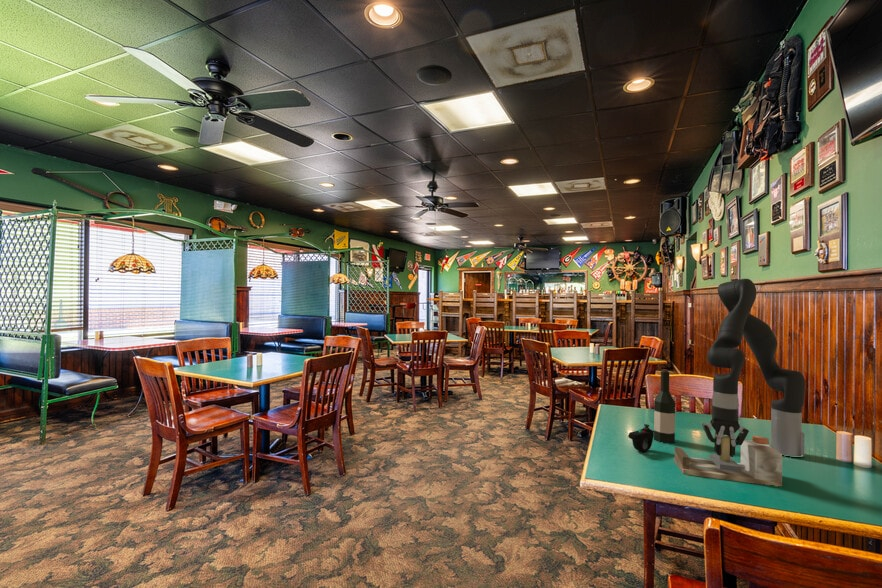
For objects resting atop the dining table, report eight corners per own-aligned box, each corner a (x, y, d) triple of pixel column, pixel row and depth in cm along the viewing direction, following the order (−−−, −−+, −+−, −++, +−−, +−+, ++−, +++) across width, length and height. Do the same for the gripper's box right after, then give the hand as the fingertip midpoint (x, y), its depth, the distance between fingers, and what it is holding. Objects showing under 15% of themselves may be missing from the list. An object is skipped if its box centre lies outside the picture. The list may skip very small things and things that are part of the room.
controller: (655, 450, 158) (656, 425, 158) (636, 456, 152) (636, 429, 152) (645, 447, 162) (645, 422, 162) (626, 452, 156) (626, 426, 156)
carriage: (728, 460, 142) (729, 433, 143) (740, 471, 133) (741, 442, 133) (709, 458, 144) (709, 431, 144) (719, 469, 135) (720, 440, 135)
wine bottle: (669, 437, 174) (670, 368, 175) (679, 444, 166) (680, 371, 167) (649, 436, 175) (650, 367, 176) (658, 443, 167) (659, 371, 168)
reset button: (765, 440, 137) (765, 436, 137) (771, 445, 133) (771, 441, 133) (750, 439, 138) (750, 435, 138) (755, 443, 134) (755, 439, 134)
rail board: (763, 472, 140) (764, 441, 140) (782, 487, 129) (782, 454, 129) (673, 460, 148) (674, 432, 148) (683, 474, 137) (683, 443, 137)
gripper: (744, 404, 140) (743, 454, 140) (698, 400, 145) (697, 449, 144) (754, 410, 133) (753, 462, 133) (705, 405, 137) (704, 456, 137)
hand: (724, 455), depth 139 cm, fingers closed on carriage, 3 cm apart
